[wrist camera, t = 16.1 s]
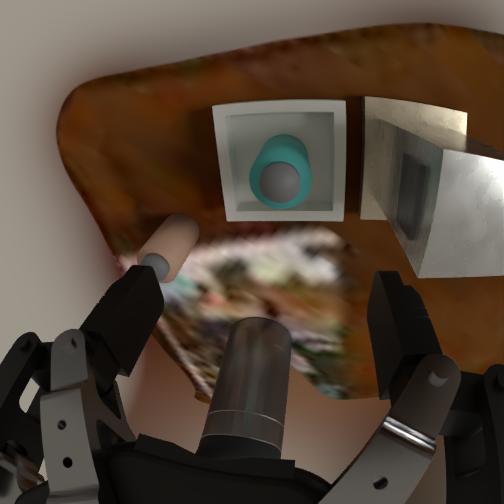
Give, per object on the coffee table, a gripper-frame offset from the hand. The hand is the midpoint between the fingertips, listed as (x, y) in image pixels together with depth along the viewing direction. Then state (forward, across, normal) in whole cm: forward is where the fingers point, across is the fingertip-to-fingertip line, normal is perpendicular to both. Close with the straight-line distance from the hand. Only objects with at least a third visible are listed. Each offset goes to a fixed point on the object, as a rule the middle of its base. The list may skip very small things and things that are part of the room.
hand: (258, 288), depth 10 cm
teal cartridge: (+18, 0, 0) cm, 18 cm away
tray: (+19, 0, 0) cm, 19 cm away
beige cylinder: (+19, +12, +8) cm, 24 cm away
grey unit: (+19, -13, 0) cm, 23 cm away
